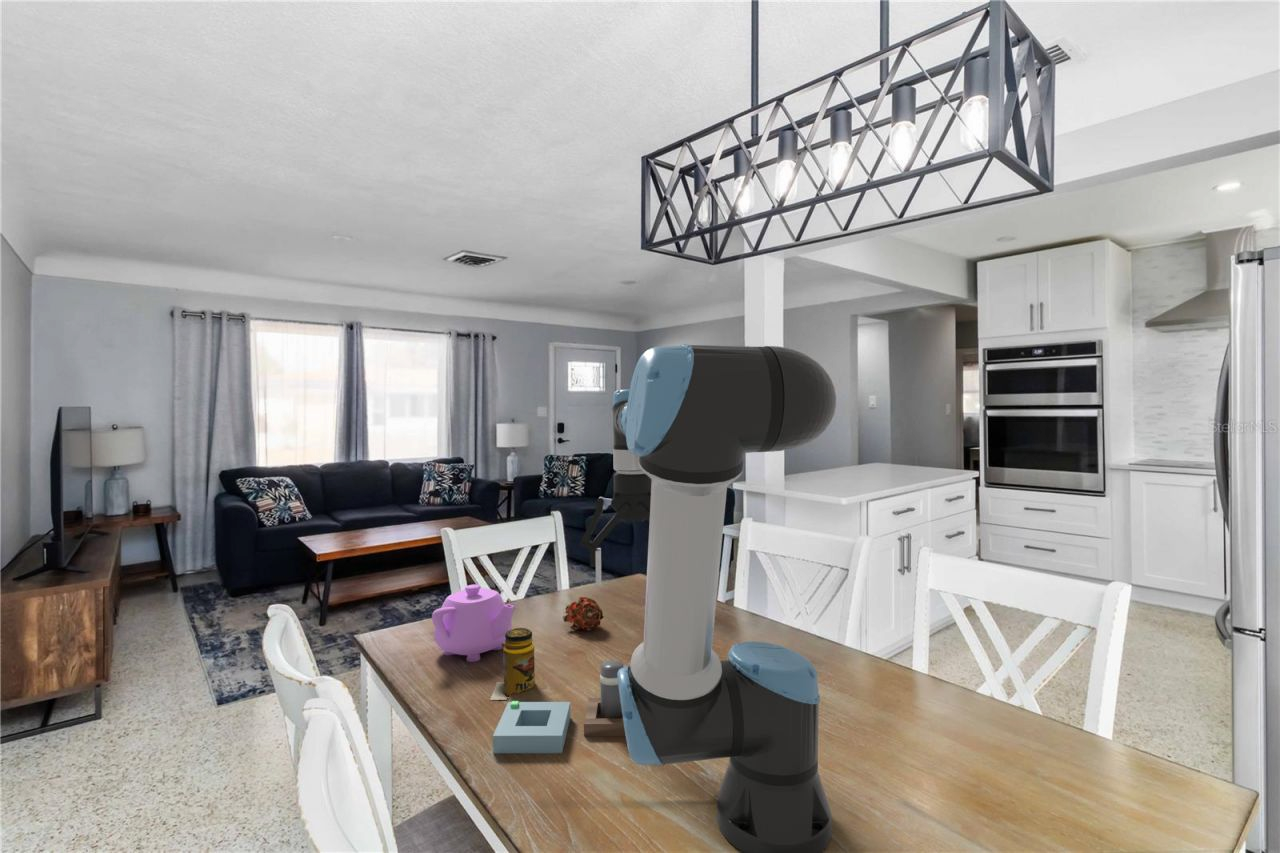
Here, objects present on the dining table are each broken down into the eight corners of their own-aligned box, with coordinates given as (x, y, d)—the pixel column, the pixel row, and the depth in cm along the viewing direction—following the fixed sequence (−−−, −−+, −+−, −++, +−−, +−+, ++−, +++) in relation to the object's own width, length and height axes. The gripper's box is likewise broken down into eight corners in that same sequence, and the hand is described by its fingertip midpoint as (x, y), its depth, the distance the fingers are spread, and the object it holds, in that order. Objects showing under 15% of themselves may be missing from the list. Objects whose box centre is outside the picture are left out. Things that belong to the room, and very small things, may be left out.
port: (562, 760, 97) (561, 731, 97) (493, 760, 97) (492, 732, 97) (570, 724, 108) (570, 698, 108) (508, 724, 108) (508, 698, 108)
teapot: (475, 681, 125) (474, 608, 125) (409, 661, 135) (407, 594, 135) (537, 647, 142) (536, 584, 142) (474, 632, 152) (473, 572, 152)
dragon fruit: (599, 641, 150) (568, 636, 158) (617, 614, 155) (585, 610, 163) (581, 619, 146) (549, 615, 154) (599, 591, 152) (568, 588, 160)
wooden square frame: (637, 742, 102) (637, 723, 102) (584, 742, 102) (583, 724, 102) (638, 715, 111) (638, 697, 111) (588, 715, 111) (588, 698, 111)
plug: (623, 727, 105) (623, 670, 104) (599, 727, 105) (599, 670, 104) (624, 715, 109) (624, 660, 108) (601, 715, 109) (600, 660, 108)
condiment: (534, 699, 117) (533, 638, 117) (489, 701, 117) (488, 639, 117) (538, 682, 125) (538, 624, 124) (497, 683, 124) (496, 625, 124)
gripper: (698, 469, 118) (699, 578, 119) (570, 470, 119) (571, 578, 119) (701, 473, 111) (702, 589, 111) (564, 474, 112) (565, 589, 112)
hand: (634, 584), depth 115 cm, fingers open, 13 cm apart
